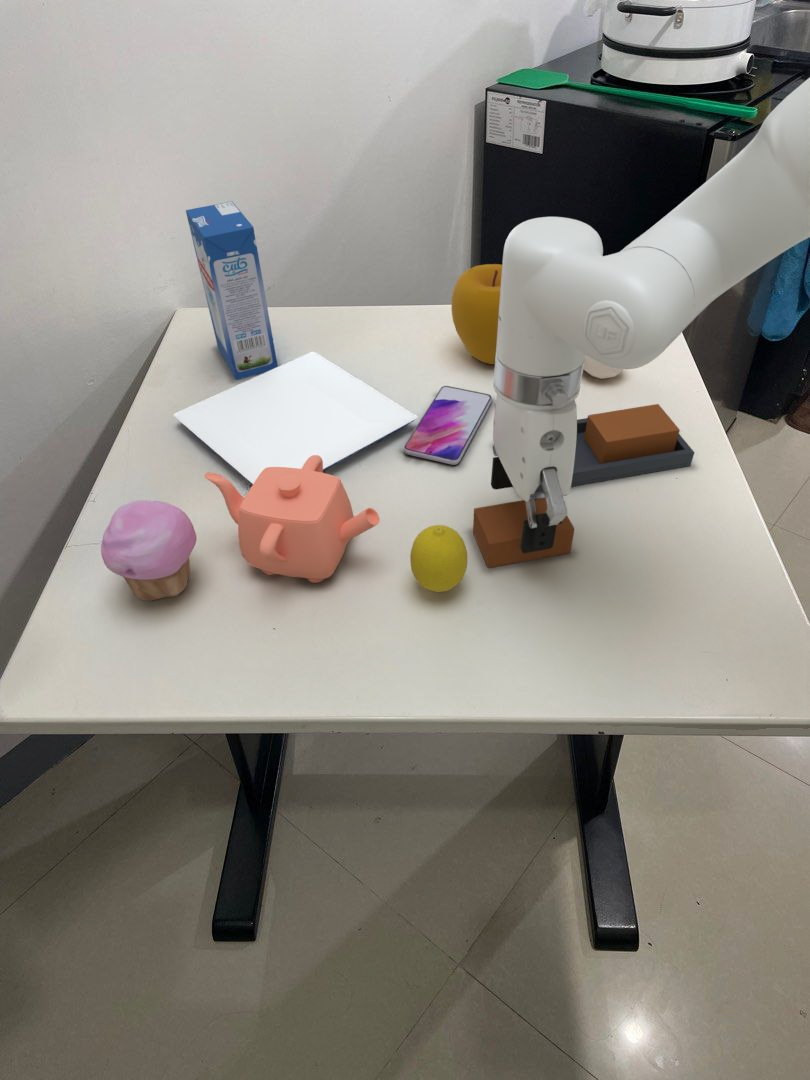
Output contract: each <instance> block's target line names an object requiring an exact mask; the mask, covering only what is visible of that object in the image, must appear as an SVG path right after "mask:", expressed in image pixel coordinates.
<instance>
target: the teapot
mask: <svg viewBox="0 0 810 1080" xmlns="http://www.w3.org/2000/svg"><path fill="white" fill-rule="evenodd" d="M203 476H204V478H205V479H206V480H207V481H209V482H210V483H212V484H214V485H215V486H216V487H217V488H218V490H219V491H220V493H221V495H222V497H223V499H224V502H225V505H226V508H227V510H228V513H229V515H230V517H231V519H232V520H233V522H234V523H235V524H236V525H237V534H238V544H239V550H240V553H241V556H242V557H243V559H244V560H245V561H246V562H247V564H248V565H250V566H251V567H253V568H256V569H258V570H261V571H262V572H263V573H264V574H266V575H270V576H271V575H280V576H285V577H293V578H301V579H302V578H303V579H306V580H307V581H309V582H310V583H313V584H315V583H316V584H317V583H320V582H322V581H324V580H325V579H328V578H330V577H331V576H332V575H333V574H334V573H335V571H336V569H337V567H338V565H339V563H340V561H341V560H342V557H343V555H344V553H345V551H346V548H347V546H348V544H349V541H350V540H351V541H352V540H353V539H354V538H356V537H358V536H360V535H361V534H363V533H366V532H367V531H368V530H370V529H372V528H374V527H376V526H378V525H379V524H380V515H379V513H378V512H377V511H376V509H374V508H373V507H368V508H366V509H364V510H362V511H361V512H359V513H357V514H356V515H354V512H353V507H352V504H351V501H350V498H349V495H348V493H347V491H346V488H345V487H344V484H343V482H342V480H341V479H340V478H339V477H337V476H335V475H333V474H330V473H326V472H324V470H323V461H322V458H321V457H320V456H318V455H312V456H310V457H309V458H308V459H307V461H306V462H305V464H304V465H303V467H302V469H297V468H287V467H268V468H265V469H264V470H263V471H262V472H261V473H260V475H259V476H258V478H257V479H256V481H255V482H254V484H252V486H251V487H250V489H249V490H248V491H247V494H246V495H245V497H244V496H243V495H242V494H241V493H240V492H239V491H238V489H237V488H236V487H235V485H233V483H232V481H230V480H229V479H228V478H226V477H225V476H223V475H221V474H220V473H219V474H218V473H216V472H205V473H204V475H203Z"/></svg>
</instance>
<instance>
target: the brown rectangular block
mask: <svg viewBox="0 0 810 1080" xmlns="http://www.w3.org/2000/svg"><path fill="white" fill-rule="evenodd" d="M587 418H588V419H587V425H586V431H585V437H584V439H585V441H586V442H587V444H588V445H589V447H590V448H591V450H592V451H593V453H594V454H595V456H596V457H597V459H598V460H599V462H600V463H601V464H604V463H610V462H615V461H621V460H627V459H633V458H639V457H645V456H651V455H656V454H662V453H668V452H674V449H675V446H676V442H677V438H678V435H679V434H680V432H681V429H680V428H679V426H677V425H676V423H675V422H674V421H673V420H672V418H671V417H670V416H669V415H668V414H667V412H665V410H664V409H663V408H662V406H661V405H660V404H659V403H656V404H655V403H654V404H650V405H643V406H636V407H630V408H625V409H617V410H612V411H605V412H600V413H599V412H598V413H593V414H589V415H587Z"/></svg>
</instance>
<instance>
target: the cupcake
mask: <svg viewBox="0 0 810 1080" xmlns="http://www.w3.org/2000/svg"><path fill="white" fill-rule="evenodd" d="M196 543H197V532H196V530H195V528H194V524H193V522H192V520H191V519H190V517H189V516H188V514H187V513H186V512H185V511H183V510H182V509H181V508H179V507H177V506H176V505H173V504H171V503H168V502H165V501H161V500H160V501H159V500H147V499H140V500H135V501H130V502H128V503H126V504H124V505H121V506H120V507H118V509H116V510H115V511H114V513H113V514H112V516H111V519H110V522H109V524H108V525H107V526H106V528H105V530H104V532H103V534H102V540H101V544H100V554H101V558H102V561H103V564H104V565H105V567H106V568H107V569H108V570H109V571H110V572H111V573H113V574H115V575H117V576H120V577H121V578H123V579H124V580H125V582H126V583H127V586H128V587H129V589H130V590H131V592H132V593H133V594H134V596H136V597H137V598H138V599H139V600H142V601H148V602H149V601H154V600H160V599H165V598H172V597H176V596H179V595H180V594H181V593H182V592H183V591H184V590H185V589H186V588H187V581H188V579H189V577H190V574H191V565H190V561H191V560H190V556H191V554H192V553H193V550H194V548H195V546H196Z"/></svg>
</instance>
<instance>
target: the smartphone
mask: <svg viewBox="0 0 810 1080" xmlns="http://www.w3.org/2000/svg"><path fill="white" fill-rule="evenodd" d="M492 402H493V396H492V395H491V394H489V393H484V392H479V391H474V390H470V389H465V388H460V387H455V386H450V385H443V386H441V387H440V389H439V390H438V391H437V394H436V395H435V397H434V398H433V399H432V401H431V403H430V404H429V406H428V407H427V409H426V411H425V412H424V414H423V415H422V417H421V419H419V421H418V423H417V425H416V427H415V428H414V429H413V431H412V433H411V434H410V436H409V437H408V439H407V441H406V442H405V444H404V445H403V447H402V449H403V453H404V454H406V455H408V456H412V457H416V458H421V459H425V460H430V461H435V462H439V463H443V464H447V465H453V466H454V465H458V464H459V463H460V462H461V460H462V459H463V456H464V455H465V453H466V451H467V449H468V447H469V445H470V444H471V441H472V439H473V438H474V435H476V432H477V430H478V429H479V426H480V425H481V423H482V421H483V420H484V417H485V416H486V413H487V412H488V410H489V408H490V406H491V404H492Z"/></svg>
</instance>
